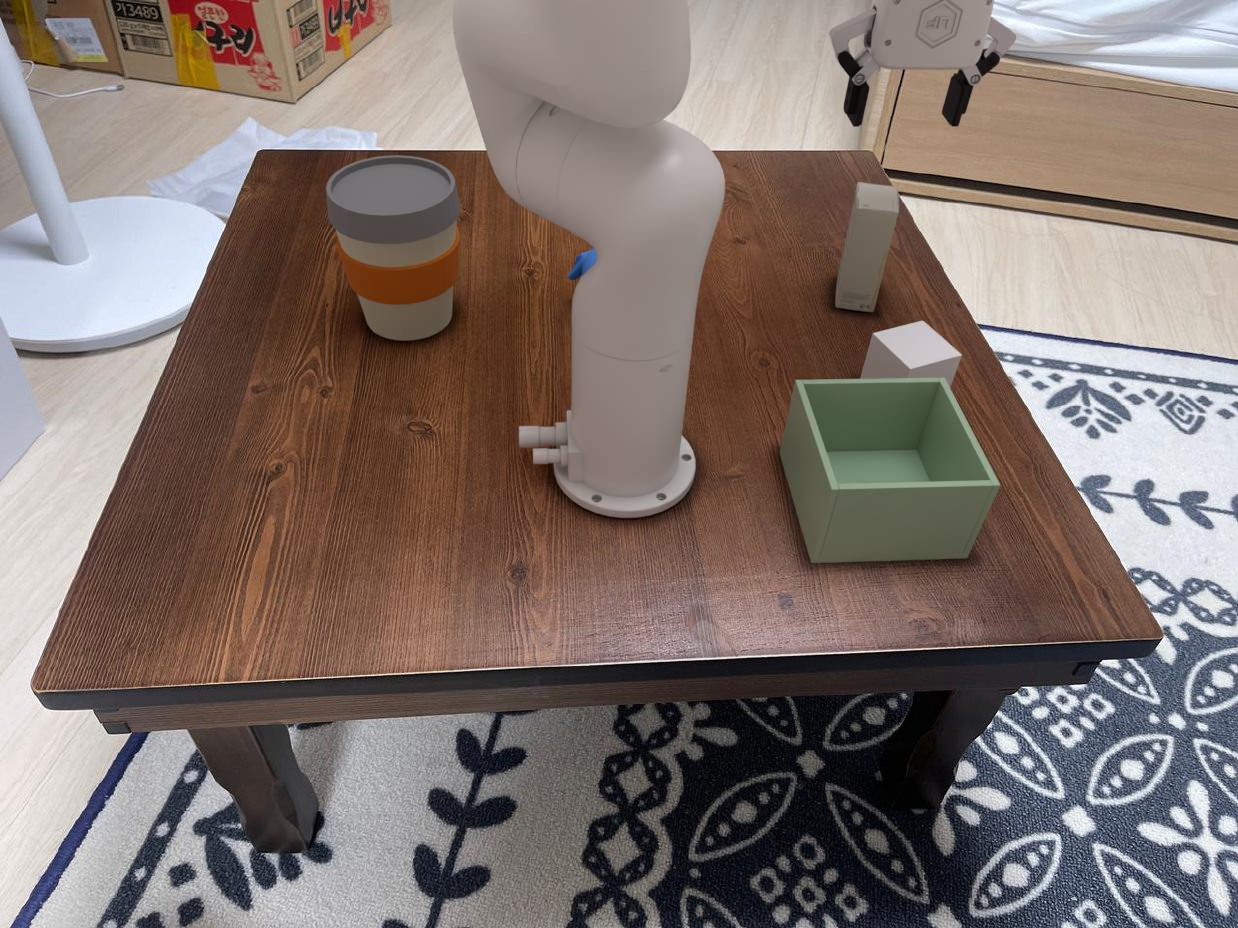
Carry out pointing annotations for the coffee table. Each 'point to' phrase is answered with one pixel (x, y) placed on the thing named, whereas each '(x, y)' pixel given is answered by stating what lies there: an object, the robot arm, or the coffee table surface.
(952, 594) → the coffee table surface
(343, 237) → the reusable coffee cup
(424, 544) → the coffee table surface
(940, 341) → the white cube
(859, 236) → the cosmetic box
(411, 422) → the coffee table surface
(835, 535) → the bin
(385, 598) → the coffee table surface
